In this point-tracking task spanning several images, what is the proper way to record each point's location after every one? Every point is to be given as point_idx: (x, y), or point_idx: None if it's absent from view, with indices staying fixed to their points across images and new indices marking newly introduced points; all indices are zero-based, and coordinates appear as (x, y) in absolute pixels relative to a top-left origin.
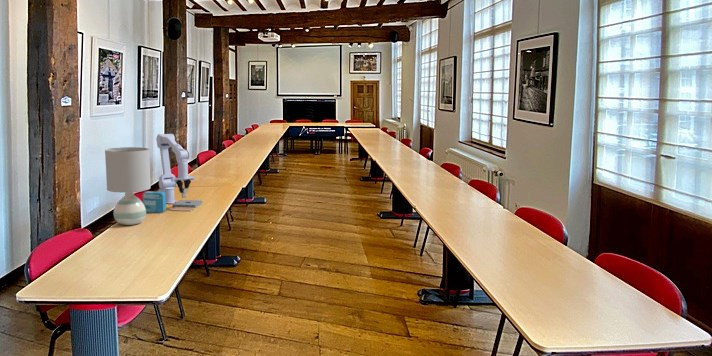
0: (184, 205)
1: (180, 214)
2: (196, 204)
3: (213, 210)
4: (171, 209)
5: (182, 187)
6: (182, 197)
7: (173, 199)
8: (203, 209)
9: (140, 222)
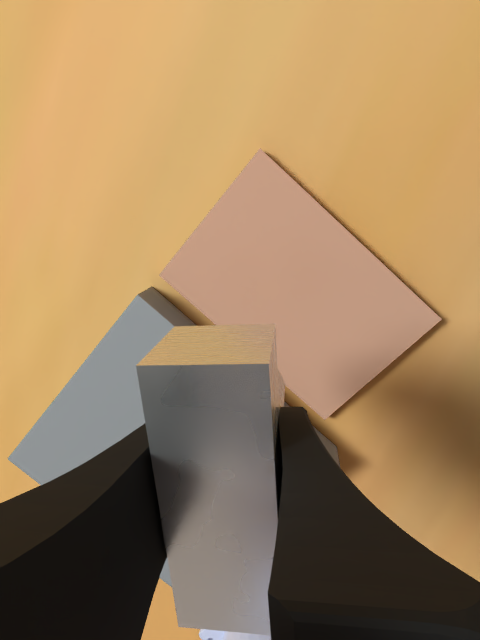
0: None
1: (446, 39)
2: (112, 326)
3: (4, 49)
4: (422, 332)
5: (226, 556)
6: (280, 373)
7: (239, 634)
8: (92, 175)
9: None
